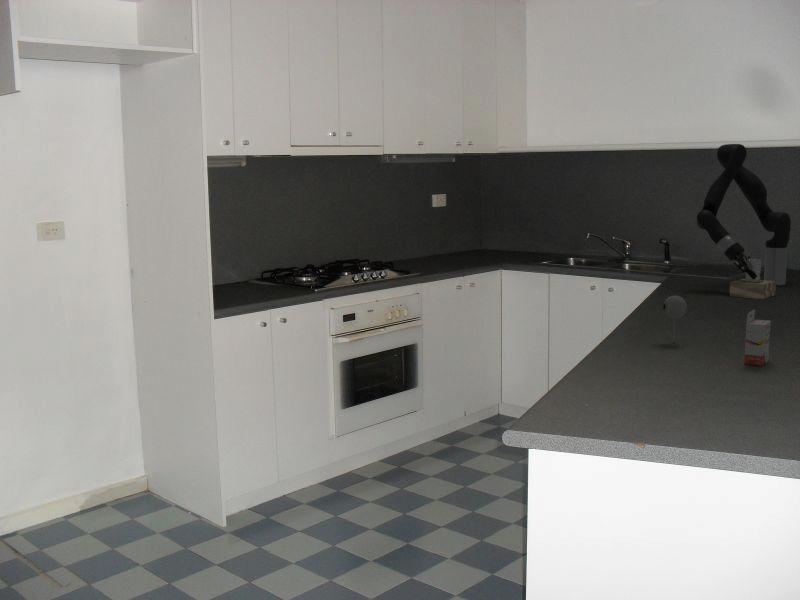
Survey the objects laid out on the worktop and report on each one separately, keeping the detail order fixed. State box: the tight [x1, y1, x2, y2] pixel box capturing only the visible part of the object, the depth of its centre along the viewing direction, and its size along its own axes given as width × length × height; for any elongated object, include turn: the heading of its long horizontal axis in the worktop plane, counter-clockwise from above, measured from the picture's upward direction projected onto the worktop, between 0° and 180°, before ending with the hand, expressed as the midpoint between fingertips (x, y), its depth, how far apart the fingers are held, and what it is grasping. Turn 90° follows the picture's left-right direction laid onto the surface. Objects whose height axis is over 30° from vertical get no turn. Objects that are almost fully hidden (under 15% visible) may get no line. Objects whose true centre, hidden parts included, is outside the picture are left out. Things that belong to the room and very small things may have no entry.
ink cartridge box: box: [744, 309, 772, 367], centre depth 250 cm, size 9×5×15 cm, turn 145°
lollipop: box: [662, 295, 688, 343], centre depth 281 cm, size 7×7×15 cm
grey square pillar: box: [745, 258, 762, 283], centre depth 375 cm, size 4×4×14 cm
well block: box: [729, 278, 777, 300], centre depth 376 cm, size 14×14×6 cm
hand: (757, 277), depth 374 cm, fingers closed on grey square pillar, 4 cm apart
